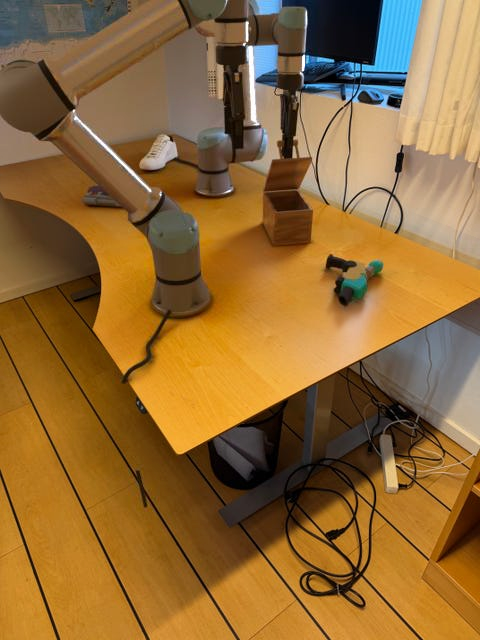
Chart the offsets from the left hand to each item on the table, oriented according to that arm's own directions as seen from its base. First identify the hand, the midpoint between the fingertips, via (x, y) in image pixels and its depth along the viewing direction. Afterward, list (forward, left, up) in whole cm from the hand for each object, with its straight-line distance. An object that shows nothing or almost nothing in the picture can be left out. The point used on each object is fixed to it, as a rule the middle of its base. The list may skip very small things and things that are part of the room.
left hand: (233, 140), depth 120 cm
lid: (+25, -14, -18) cm, 34 cm away
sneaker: (+91, +43, -36) cm, 107 cm away
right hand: (+26, -14, -12) cm, 32 cm away
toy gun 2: (-9, -31, -36) cm, 48 cm away
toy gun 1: (+47, +53, -36) cm, 79 cm away
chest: (+23, -15, -36) cm, 45 cm away
